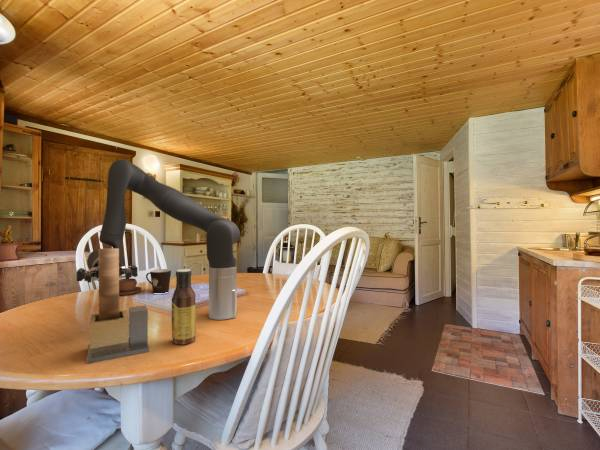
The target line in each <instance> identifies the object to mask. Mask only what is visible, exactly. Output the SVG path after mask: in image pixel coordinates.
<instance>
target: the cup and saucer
mask: <svg viewBox="0 0 600 450" xmlns="http://www.w3.org/2000/svg"><path fill="white" fill-rule="evenodd" d="M137 284H138V280H137V279H136V278H133V277H131V278H129V279H127V280H126V278H122V279H119V296H130V295H134V294H137V293H140V291H142V289H143V288H142V287H140V286H137Z"/></svg>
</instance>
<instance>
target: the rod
mask: <svg viewBox="0 0 600 450" xmlns="http://www.w3.org/2000/svg"><path fill="white" fill-rule="evenodd" d="M97 250H98V251H99V281H98V314H99V321H103V320H110V319H117V318H119V311H120V295H119V280H120V279H119V248H113V247H108V248H107V247H105V248H99V249H97Z"/></svg>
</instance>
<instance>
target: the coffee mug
mask: <svg viewBox="0 0 600 450" xmlns="http://www.w3.org/2000/svg"><path fill="white" fill-rule="evenodd" d="M149 274H150V280H151V281H150V280H149V277H148V276H149ZM171 275H172V270H171V269H168V268H161V269H160V268H159V269H152V270H150V271H149V272H147V273H146V275H145V278H146V280H147V282H149V284H150V285H151V287H152V288H151V289H152V294H153V293H165V292H168V293H169V290H170V284H171V283H170V282H171Z"/></svg>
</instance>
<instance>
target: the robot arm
mask: <svg viewBox="0 0 600 450" xmlns="http://www.w3.org/2000/svg"><path fill="white" fill-rule="evenodd" d="M107 174H108V175H107V190H106V202H105V203H106V204H105V212H104V217H103V222H102V225H101V231H100V234H99V242H100V243H102V244H104V245H107V246H110V248H119V280H120V279H126V280H127V279H129V278H133V277H134V278H136V277H138V267H137V265H134V264H131V265H130V266H128V267H126V266H125V265H124V258H123V257H124V256H123V239H124V235H125V231H126V228H127V227H126V225H127V212H126V204H125V202H126V201H125V200H126V198H125V197H126V193H127V190H128V191H131V192H134V193H136V194H137V195H140V196H142V197H144V198H146V199H147V200H149V202H150V203H151V204H153V205H154V206H155V207H156V208H157V209H158V210H160V211H161V212H162V213H164V214H166V215H167V216H169V217H170V218H173V219H175V220H177V221H179V222H181V223H184V224H187V225H189V226H193V227H196V228H198V229H200V230H202V231H204V232H205V233H206V236H205V240H206V243H205V244H206V258H207V261H208V318H210V319H211V320H219V321H221V320H228V319H235V318H236V316H237V312H238V311H237V304H238V303H237V301H238V300H237V298H238V295H237V293H238V288H237V258H236V257H235V256H234V244H235V243H237V242H238V241H239V239H240V236H241V232H240V229H239V227H238V225H237V224H236V223H235V222H233V221H232V220H230V219H227V218H226V217H223V216H220V215H219V214H216V213H215V212H212V211H210V210H209V209H207V208H206V207H204V206H203V205H202V204H200V203H199V202H197V201H195V200H194V199H193V198H191V197H190V196H188V195H186V194H185V193H183V192H182V191H180V190H178V189H176V188H174V187H171V186H170V185H167V184H164V183H161V182H159V181H158V180H156V179H154V178H153V177H152V176H151V175H149V174H147V172H145V171H144V170H143V169H142V168H140V167H139V166H138V165H136V164H134V163H133V162H131V161H129V160H127V159H117V160H114V161H113V163H111V164H110V167H109V169H108V173H107ZM86 265H87V268H88V270H86V268H82V267H80V268H78V269H77V270H76V282H82V281H83V280H84V282H87V283H90V284H91V283H92V281H93V282H96V281H98V282H99V251H98V249H97V250H96V249H95V250H93V251H91V252H90V253H89V254H88V257H87V260H86Z"/></svg>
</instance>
